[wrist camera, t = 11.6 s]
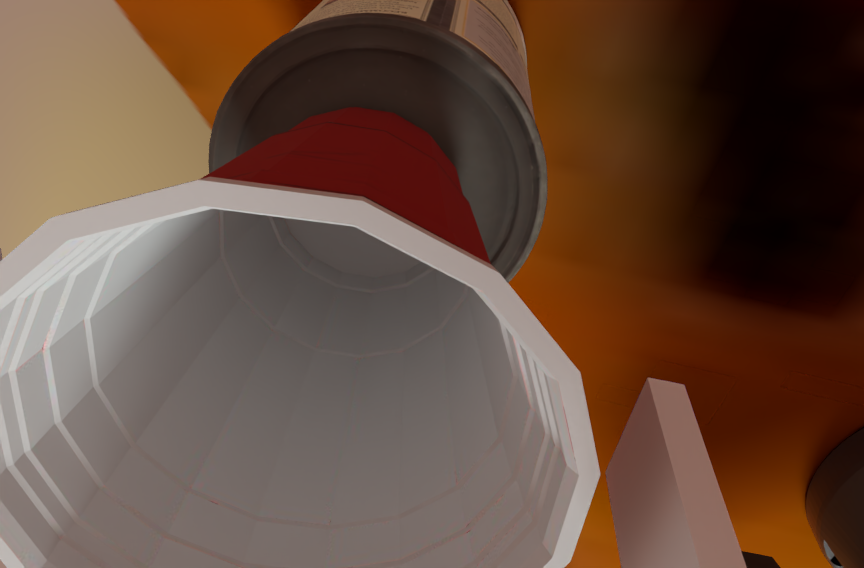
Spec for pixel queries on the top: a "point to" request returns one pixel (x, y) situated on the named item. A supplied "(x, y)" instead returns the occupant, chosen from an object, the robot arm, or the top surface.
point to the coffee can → (411, 98)
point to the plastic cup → (285, 374)
